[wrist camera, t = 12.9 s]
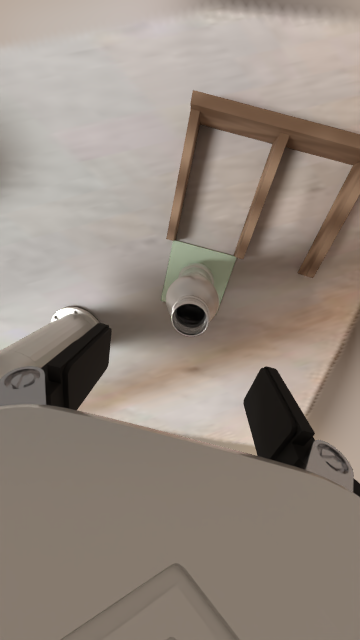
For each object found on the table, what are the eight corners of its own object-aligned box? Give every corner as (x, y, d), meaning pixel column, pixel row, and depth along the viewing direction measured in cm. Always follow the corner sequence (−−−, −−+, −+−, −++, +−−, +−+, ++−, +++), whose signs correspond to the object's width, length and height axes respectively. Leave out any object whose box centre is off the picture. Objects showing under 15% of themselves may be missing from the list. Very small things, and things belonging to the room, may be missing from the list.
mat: (215, 314, 38) (215, 315, 38) (161, 300, 38) (160, 300, 38) (236, 256, 33) (236, 257, 33) (173, 240, 33) (173, 240, 33)
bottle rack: (303, 274, 33) (316, 279, 29) (169, 238, 33) (165, 238, 29) (366, 157, 26) (393, 143, 22) (194, 111, 26) (193, 90, 22)
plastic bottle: (197, 301, 37) (193, 361, 19) (172, 279, 36) (142, 320, 18) (220, 278, 35) (241, 320, 16) (194, 253, 33) (186, 269, 15)
